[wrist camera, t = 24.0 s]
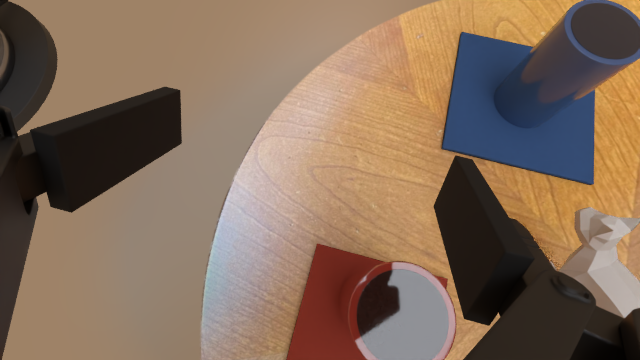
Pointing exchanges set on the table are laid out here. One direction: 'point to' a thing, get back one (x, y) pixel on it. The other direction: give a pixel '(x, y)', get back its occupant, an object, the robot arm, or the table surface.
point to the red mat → (327, 308)
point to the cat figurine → (603, 261)
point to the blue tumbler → (569, 62)
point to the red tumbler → (398, 312)
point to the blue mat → (503, 137)
